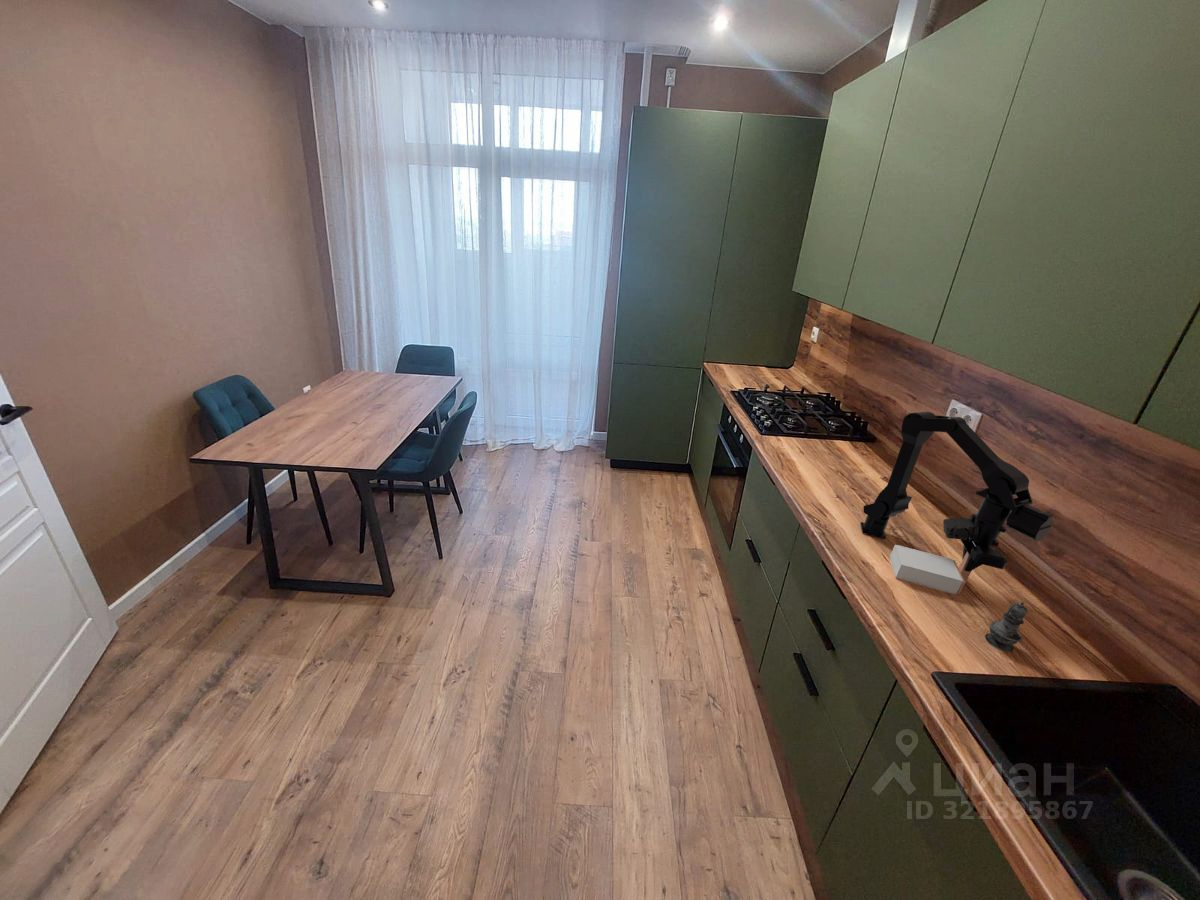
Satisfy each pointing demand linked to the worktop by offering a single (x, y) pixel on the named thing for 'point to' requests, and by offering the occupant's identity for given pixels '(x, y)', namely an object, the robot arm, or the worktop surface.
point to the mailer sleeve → (925, 569)
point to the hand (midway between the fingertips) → (965, 568)
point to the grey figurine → (1007, 628)
